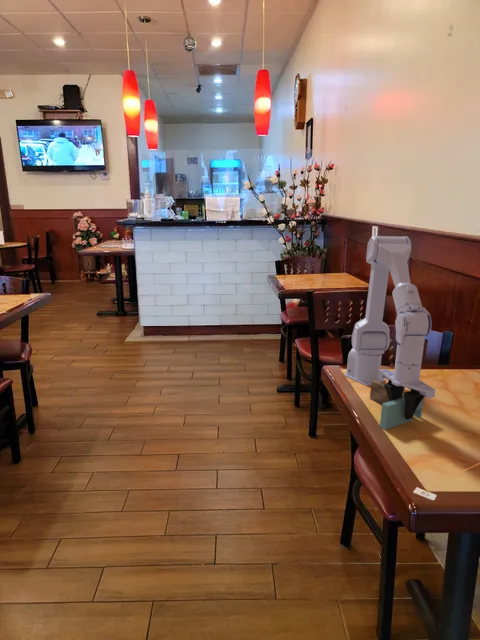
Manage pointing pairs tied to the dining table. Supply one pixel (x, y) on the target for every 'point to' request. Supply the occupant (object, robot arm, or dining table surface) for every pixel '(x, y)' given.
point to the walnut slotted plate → (379, 392)
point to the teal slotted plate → (396, 413)
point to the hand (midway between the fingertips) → (401, 414)
